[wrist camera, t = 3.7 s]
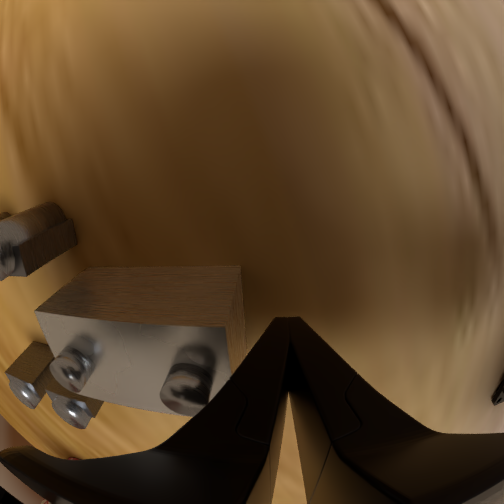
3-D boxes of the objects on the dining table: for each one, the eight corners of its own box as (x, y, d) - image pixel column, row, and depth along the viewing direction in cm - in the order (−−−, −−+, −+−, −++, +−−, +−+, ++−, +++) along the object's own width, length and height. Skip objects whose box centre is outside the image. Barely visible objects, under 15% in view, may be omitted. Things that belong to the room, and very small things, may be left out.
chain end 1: (17, 208, 9) (-39, 232, 6) (74, 373, 12) (45, 414, 9) (-8, 215, 9) (-57, 237, 6) (45, 365, 12) (17, 401, 9)
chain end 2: (68, 198, 9) (3, 223, 5) (125, 384, 12) (98, 435, 9) (29, 206, 9) (-29, 230, 6) (87, 376, 12) (58, 420, 9)
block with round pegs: (240, 264, 9) (219, 350, 5) (247, 348, 10) (235, 441, 6) (89, 266, 10) (19, 324, 6) (111, 339, 11) (64, 407, 7)
